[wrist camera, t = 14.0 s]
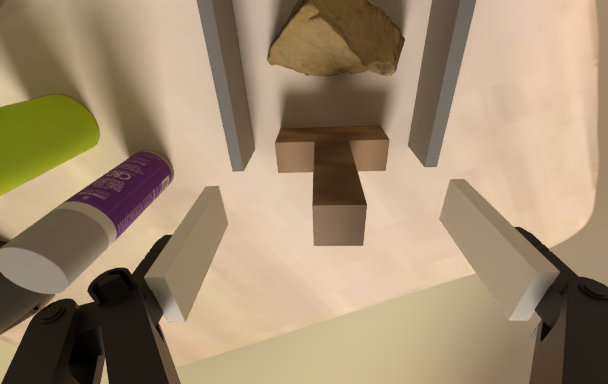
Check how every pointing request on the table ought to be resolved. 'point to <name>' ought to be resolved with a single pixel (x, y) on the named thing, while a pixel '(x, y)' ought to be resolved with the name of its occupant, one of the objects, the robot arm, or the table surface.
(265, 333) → the table surface
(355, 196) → the brown t-shaped block
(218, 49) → the box
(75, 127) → the soap dispenser
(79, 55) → the table surface
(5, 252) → the container
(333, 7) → the rock
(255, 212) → the table surface
